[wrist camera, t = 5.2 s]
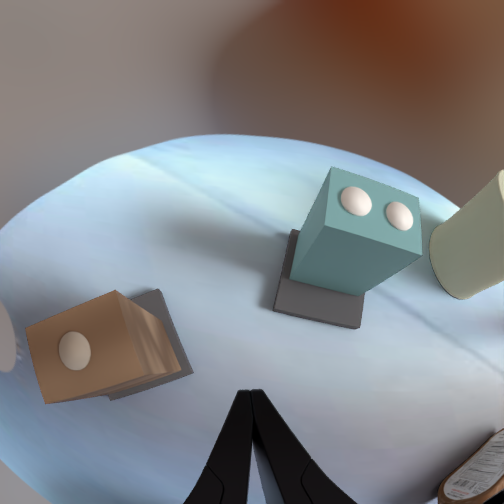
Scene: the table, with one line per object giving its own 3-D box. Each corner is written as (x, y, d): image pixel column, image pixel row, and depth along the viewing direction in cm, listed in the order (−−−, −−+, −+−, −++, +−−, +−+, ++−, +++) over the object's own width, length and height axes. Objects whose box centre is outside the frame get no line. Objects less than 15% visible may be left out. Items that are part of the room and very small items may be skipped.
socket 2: (355, 329, 21) (360, 327, 20) (272, 310, 22) (274, 308, 21) (364, 254, 24) (368, 250, 23) (290, 234, 24) (292, 228, 23)
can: (425, 284, 23) (512, 232, 12) (429, 212, 27) (491, 149, 16) (478, 309, 23) (557, 274, 12) (478, 241, 26) (540, 195, 15)
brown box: (181, 370, 18) (143, 375, 10) (113, 392, 17) (43, 404, 9) (161, 320, 20) (114, 288, 11) (96, 345, 18) (23, 327, 10)
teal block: (358, 296, 21) (423, 254, 13) (289, 279, 22) (325, 223, 13) (362, 252, 23) (419, 196, 14) (298, 234, 23) (332, 164, 15)
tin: (422, 507, 14) (470, 530, 6) (421, 490, 15) (473, 511, 7) (504, 435, 16) (549, 435, 8) (503, 417, 17) (551, 415, 10)
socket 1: (193, 372, 19) (192, 373, 18) (115, 399, 18) (110, 400, 17) (161, 291, 22) (158, 288, 21) (88, 320, 20) (83, 318, 19)
